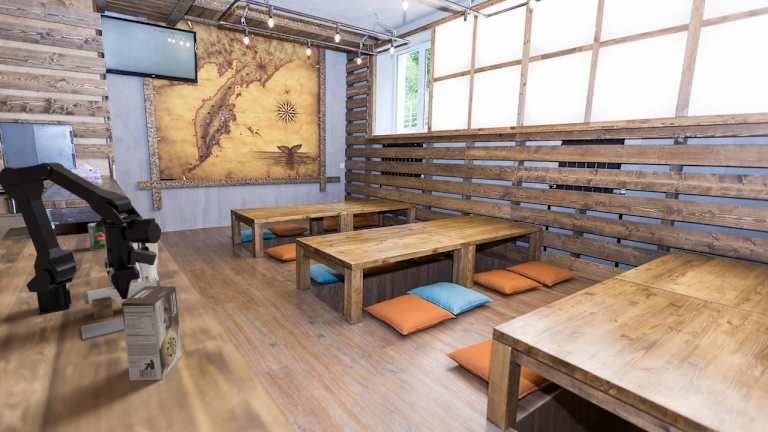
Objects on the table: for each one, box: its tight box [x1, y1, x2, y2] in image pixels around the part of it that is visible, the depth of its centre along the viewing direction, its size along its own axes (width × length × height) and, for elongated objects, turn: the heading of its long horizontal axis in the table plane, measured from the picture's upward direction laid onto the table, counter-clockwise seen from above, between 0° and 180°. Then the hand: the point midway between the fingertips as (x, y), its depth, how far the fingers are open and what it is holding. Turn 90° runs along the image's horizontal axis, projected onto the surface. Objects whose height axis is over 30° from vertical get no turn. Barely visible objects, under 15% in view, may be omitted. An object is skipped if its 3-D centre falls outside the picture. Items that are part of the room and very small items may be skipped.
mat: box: [80, 316, 125, 341], centre depth 99 cm, size 20×8×1 cm, turn 130°
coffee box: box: [120, 285, 183, 382], centre depth 78 cm, size 9×6×16 cm
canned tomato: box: [87, 222, 106, 251], centre depth 170 cm, size 8×8×11 cm
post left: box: [91, 298, 114, 320], centre depth 103 cm, size 4×5×5 cm
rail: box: [82, 279, 161, 305], centre depth 106 cm, size 17×3×3 cm, turn 130°
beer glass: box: [132, 242, 160, 282], centre depth 127 cm, size 7×7×15 cm
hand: (124, 297), depth 106 cm, fingers closed on rail, 3 cm apart
